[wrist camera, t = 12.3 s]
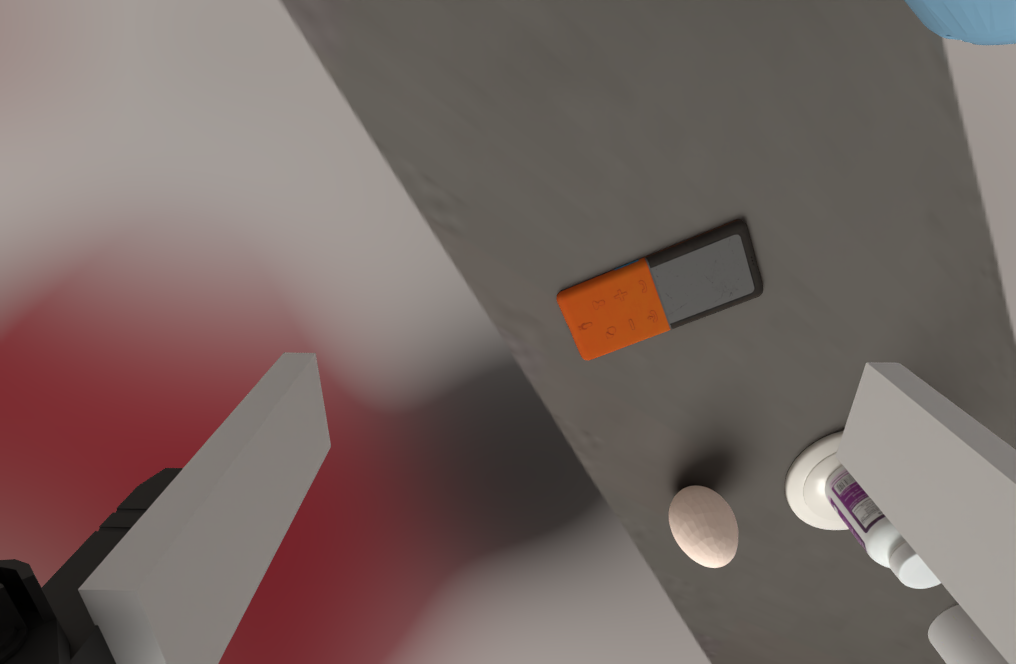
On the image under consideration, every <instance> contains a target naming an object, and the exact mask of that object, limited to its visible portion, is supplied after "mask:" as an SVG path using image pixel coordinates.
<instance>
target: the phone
mask: <svg viewBox="0 0 1016 664" xmlns="http://www.w3.org/2000/svg"><path fill="white" fill-rule="evenodd" d="M762 293H763V285H762V282H761V278H760V274H759V270H758V267H757V263H756V259H755V255H754V252H753V248H752V244H751V240H750V237H749V233H748V229H747V225H746V223H745V222H744V221H742V220H735V221H733V222H730V223H728V224H725V225H723V226H721V227H718V228H716V229H713V230H711V231H708V232H706V233H703V234H701V235H698V236H696V237H693V238H691V239H689V240H686V241H684V242H681V243H679V244H676V245H674V246H671V247H669V248H666V249H664V250H661V251H659V252H657V253H654V254H652V255H649V256H647V257H644V258H642V259H639V260H636V261H633V262H631V263H628V264H626V265H624V266H621V267H619V268H616V269H614V270H612V271H610V272H607V273H605V274H602V275H600V276H597V277H595V278H593V279H590V280H588V281H585V282H583V283H580V284H578V285H575V286H573V287H570V288H568V289H565V290H563V291H561V292H559V293H558V295H557V302H558V304H559V307H560V309H561V311H562V313H563V316H564V318H565V320H566V323H567V325H568V327H569V329H570V332H571V334H572V336H573V339H574V341H575V343H576V346H577V348H578V350H579V352H580V355H581V357H582V358H583V359H585V360H591V359H594V358H597V357H599V356H602V355H605V354H607V353H610V352H613V351H615V350H618V349H621V348H623V347H626V346H629V345H631V344H634V343H637V342H639V341H642V340H645V339H647V338H650V337H652V336H655V335H658V334H660V333H663V332H666V331H668V330H671V329H674V328H676V327H679V326H682V325H684V324H687V323H690V322H692V321H695V320H698V319H700V318H703V317H706V316H708V315H711V314H714V313H716V312H719V311H722V310H724V309H727V308H730V307H732V306H735V305H737V304H740V303H743V302H745V301H748V300H751V299H753V298H756V297H759V296H760V295H761V294H762Z"/></svg>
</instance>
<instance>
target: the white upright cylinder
mask: <svg viewBox="0 0 1016 664" xmlns="http://www.w3.org/2000/svg"><path fill="white" fill-rule="evenodd" d="M928 638H929V640H930V642H931V643H932V645H933V646H934V647H935V649H936V650H937V651H938V653H939V654H940V655H941V657H942V658H943V660H944V661H945V662H946V664H1009V663H1008V662H1007V661H1006V660H1005V658H1004V657H1003V656H1002V655H1001V654H1000V652H999V651H998V650H997V649H996V648H995V647H994V645H993V644H992V643H991V642H990V641H989V639H988V638H987V637H986V636H985V635H984V633H983V632H982V631H981V630H980V629H979V627H978V626H977V625H976V624H975V623H974V621H973V620H972V619H971V618H970V617H969V615H968V614H967V613H966V612H965V611H964V609H963V608H962V607H961V606H960V605H959V604H958V605H956V606H953V607H951V608H949V609H947V610H946V611H944V612H943V613H941V614H940V615H939V616H938V617H937V618H936V619H935V620H934V621H933V622H932V624H931V625H930V628H929V631H928Z"/></svg>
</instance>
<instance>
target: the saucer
mask: <svg viewBox="0 0 1016 664" xmlns="http://www.w3.org/2000/svg"><path fill="white" fill-rule="evenodd" d="M843 432H844V431H840V432H836V433H833V434H830V435H828V436H826V437H823V438H822V439H820V440H818V441H816V442H815V443H813V444H812V445H810V446H809V447H807V448H806V449H805V450H804V451H803V452H802V453H801V454H800V455H799V456H798V457H797V458H796V459H795V461H794V462H793V463H792V465H791V467H790V468H789V470H788V473H787V475H786V479H785V485H784V490H785V496H786V499H787V501H788V503H789V505H790V507H791V508H792V510H793V511H794V513H795V514H796V515H797V516H798V517H799V518H800V519H801V520H803V521H804V522H806V523H807V524H810V525H812V526H814V527H817V528H822V529H828V530H845V529H849V528H848V527H847V525H846V524H845V523H844V522H843V520H842V519H841V518H840V516H839V515H838V514H837V512H836V511H835V510H834V508H833V507H832V506H831V504H830V503H829V502H828V500H827V498H826V496H825V485H826V482H827V480H828V479H829V477H830V476H831V475H832V474H833V473H834V472H835V471H836V470H837V469H839V468H840V467H842V466H843V465H842V464H841V462H840V461H839V460H838V459H837V458H836V453H837V450H838V447H839V444H840V441H841V438H842V435H843Z"/></svg>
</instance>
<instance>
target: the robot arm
mask: <svg viewBox="0 0 1016 664" xmlns="http://www.w3.org/2000/svg"><path fill="white" fill-rule="evenodd" d="M904 1H905V2H906V3H907V4H908V5H909V7H910V8H911V9H912V10H913V12H914V13H915V14H916V15H917V17H918V18H919V19H920V20H921V21H922V23H923V24H924V25H925V26H926V27H927V28H928V29H930V30H931V31H933V32H934V33H936V34H938V35H939V36H941V37H944V38H947V39H957V40H962V41H964V42H970V43H973V44H977V45H1003V44H1015V43H1016V0H904ZM330 447H331V444H330V439H329V432H328V426H327V420H326V414H325V408H324V402H323V396H322V390H321V383H320V377H319V371H318V365H317V359H316V354H315V353H283V354H282V356H281V357H280V358H279V359H278V360H277V361H276V363H275V364H274V365H273V366H272V367H271V368H270V369H269V371H268V372H267V373H266V374H265V375H264V376H263V377H262V379H261V380H260V381H259V382H258V383H257V384H256V386H255V387H254V388H253V389H252V390H251V391H250V392H249V393H248V395H247V396H246V397H245V398H244V399H243V401H242V402H241V403H240V404H239V405H238V406H237V407H236V408H235V410H234V411H233V412H232V413H231V414H230V415H229V416H228V418H227V419H226V420H225V421H224V422H223V423H222V424H221V426H220V427H219V428H218V429H217V430H216V431H215V433H214V434H213V435H212V436H211V437H210V438H209V440H208V441H207V442H206V443H205V444H204V445H203V446H202V447H201V449H200V450H199V451H198V452H197V453H196V455H195V456H194V457H193V458H192V459H191V460H190V461H189V462H188V464H187V465H186V466H185V467H184V468H165V469H163V470H162V471H160V472H159V473H157V474H156V475H154V476H153V477H151V478H150V479H148V480H147V481H145V482H143V483H142V484H140V485H139V486H138V487H137V488H135V490H134V491H133V492H132V493H131V494H130V495H129V496H128V497H127V498H126V499H125V500H124V501H123V502H122V503H121V504H120V505H119V506H118V508H117V511H116V513H112V514H111V515H110V516H109V517H108V518H107V519H106V520H105V521H104V523H102V525H101V526H100V529H99V531H95V532H94V533H93V534H92V535H91V536H90V537H89V538H88V539H87V540H86V541H85V542H84V544H83V545H82V546H81V547H80V548H79V549H78V550H77V551H76V552H75V553H74V554H73V555H72V556H71V557H70V558H69V559H68V560H67V562H66V563H65V564H64V565H63V566H62V567H61V568H60V569H59V570H58V571H57V572H56V573H55V574H54V575H53V576H52V578H50V580H49V581H48V582H47V583H46V584H45V585H44V586H43V587H42V588H41V586H40V584H39V583H38V581H37V579H36V577H35V575H34V573H33V571H32V569H31V567H30V565H29V564H27V563H24V562H21V561H18V560H15V559H13V560H0V664H218V663H219V661H220V659H221V657H222V655H223V653H224V651H225V649H226V647H227V645H228V643H229V641H230V640H231V638H232V636H233V634H234V632H235V630H236V628H237V626H238V624H239V622H240V620H241V618H242V616H243V615H244V613H245V611H246V609H247V607H248V605H249V603H250V601H251V599H252V597H253V595H254V593H255V591H256V589H257V588H258V586H259V584H260V581H261V580H262V578H263V576H264V574H265V572H266V570H267V568H268V566H269V564H270V563H271V561H272V559H273V557H274V555H275V553H276V551H277V549H278V547H279V545H280V543H281V541H282V539H283V538H284V536H285V534H286V532H287V530H288V528H289V526H290V524H291V522H292V520H293V518H294V516H295V514H296V513H297V510H298V509H299V507H300V505H301V503H302V501H303V499H304V497H305V495H306V493H307V491H308V489H309V487H310V486H311V484H312V482H313V480H314V478H315V476H316V474H317V472H318V470H319V468H320V466H321V464H322V462H323V461H324V459H325V457H326V455H327V453H328V451H329V449H330ZM836 458H837V459H838V460H839V461H840V462H841V464H842V465H843V466H844V467H845V468H846V469H847V471H848V472H849V473H850V474H851V475H852V477H853V478H854V479H855V480H856V481H857V483H858V484H859V485H860V486H861V487H862V489H863V490H864V491H865V492H866V493H867V495H868V496H869V497H870V498H871V499H872V501H873V502H874V503H875V504H876V505H877V507H878V508H879V509H880V510H881V511H882V513H883V514H884V515H885V516H886V517H887V519H888V520H889V521H890V522H891V523H892V525H893V526H894V527H895V528H896V529H897V530H898V532H899V533H900V534H901V535H902V536H903V538H904V539H905V540H906V541H907V542H908V544H909V545H910V546H911V547H912V548H913V550H914V551H915V552H916V553H917V554H918V556H919V557H920V558H921V559H922V560H923V562H924V563H925V564H926V565H927V566H928V568H929V569H930V570H931V571H932V572H933V574H934V575H935V576H936V577H937V578H938V580H939V581H940V582H941V583H942V584H943V586H944V587H945V588H946V589H947V590H948V591H949V593H950V594H951V595H952V596H953V597H954V599H955V600H956V601H957V602H958V603H959V605H960V606H961V607H962V608H963V609H964V611H965V612H966V613H967V614H968V615H969V617H970V618H971V619H972V620H973V621H974V623H975V624H976V625H977V626H978V627H979V629H980V630H981V631H982V632H983V633H984V635H985V636H986V637H987V638H988V639H989V641H990V642H991V643H992V644H993V645H994V647H995V648H996V649H997V650H998V651H999V652H1000V654H1001V655H1002V656H1003V657H1004V658H1005V660H1006V661H1007V662H1008V663H1009V664H1016V450H1015V449H1014V448H1013V447H1011V446H1010V445H1009V444H1007V443H1006V442H1005V441H1003V440H1002V439H1001V438H999V437H998V436H997V435H995V434H994V433H992V432H991V431H990V430H988V429H987V428H986V427H984V426H983V425H982V424H980V423H979V422H978V421H976V420H975V419H974V418H972V417H971V416H970V415H968V414H967V413H966V412H964V411H963V410H962V409H960V408H959V407H958V406H956V405H955V404H954V403H952V402H951V401H950V400H948V399H947V398H946V397H944V396H943V395H942V394H940V393H939V392H938V391H936V390H935V389H934V388H932V387H931V386H930V385H928V384H927V383H926V382H924V381H923V380H922V379H920V378H919V377H918V376H916V375H915V374H914V373H912V372H911V371H910V370H908V369H907V368H906V367H904V366H903V365H901V364H900V363H878V362H866V365H865V368H864V371H863V374H862V377H861V380H860V384H859V387H858V390H857V393H856V396H855V399H854V402H853V405H852V408H851V411H850V414H849V417H848V420H847V423H846V426H845V429H844V432H843V435H842V438H841V441H840V444H839V447H838V450H837V453H836Z"/></svg>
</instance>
